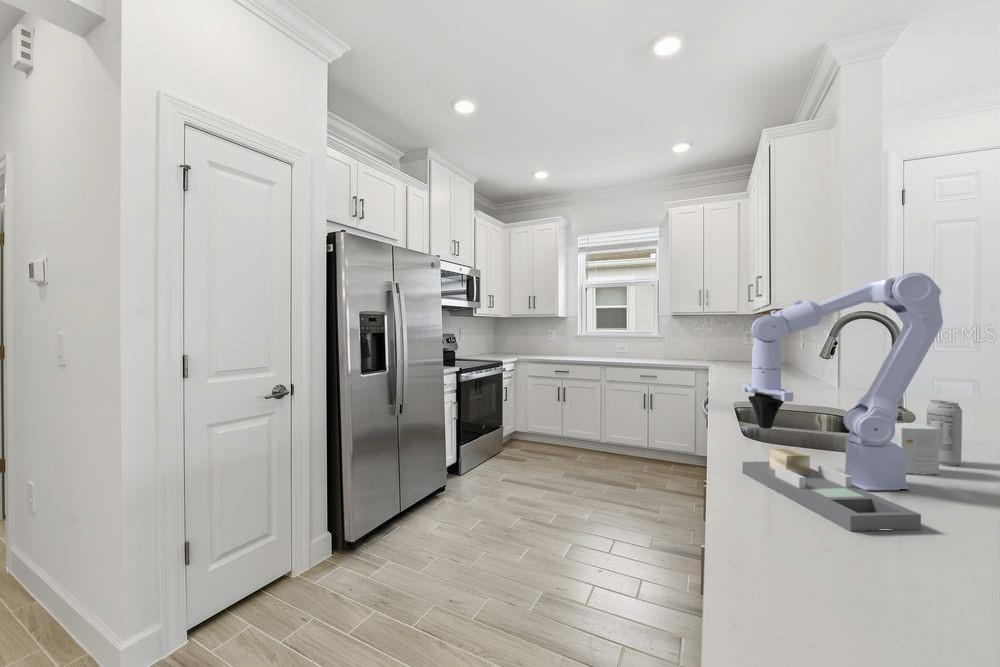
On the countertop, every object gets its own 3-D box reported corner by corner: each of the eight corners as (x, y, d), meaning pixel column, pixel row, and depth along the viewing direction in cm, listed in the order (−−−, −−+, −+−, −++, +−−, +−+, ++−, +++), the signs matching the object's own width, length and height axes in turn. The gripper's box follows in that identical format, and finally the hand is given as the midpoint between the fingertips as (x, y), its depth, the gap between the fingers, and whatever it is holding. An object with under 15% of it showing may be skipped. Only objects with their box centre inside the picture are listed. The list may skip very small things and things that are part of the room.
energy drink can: (968, 466, 103) (969, 403, 103) (948, 467, 101) (950, 404, 101) (937, 458, 109) (938, 399, 108) (919, 459, 107) (920, 400, 107)
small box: (918, 467, 102) (918, 423, 102) (939, 475, 96) (940, 428, 96) (881, 466, 102) (882, 422, 102) (900, 474, 97) (901, 427, 97)
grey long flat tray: (793, 472, 98) (793, 452, 98) (920, 529, 70) (921, 502, 70) (742, 472, 97) (742, 453, 97) (850, 531, 69) (850, 503, 69)
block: (791, 467, 93) (791, 448, 93) (809, 474, 88) (809, 455, 88) (769, 467, 93) (769, 448, 93) (786, 475, 88) (786, 455, 88)
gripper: (730, 365, 105) (729, 421, 105) (771, 371, 91) (770, 435, 91) (758, 365, 105) (757, 420, 106) (803, 371, 91) (802, 435, 91)
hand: (765, 427), depth 98 cm, fingers closed
